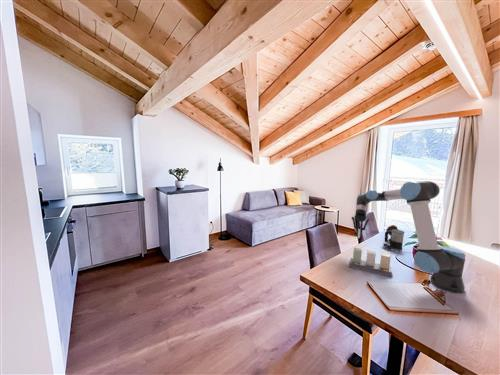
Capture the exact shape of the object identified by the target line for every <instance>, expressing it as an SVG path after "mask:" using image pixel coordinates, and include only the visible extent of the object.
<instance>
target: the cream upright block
mask: <svg viewBox="0 0 500 375" xmlns="http://www.w3.org/2000/svg"><path fill="white" fill-rule="evenodd" d="M376 256H377V254H376V251H373V250H370V249H369V250H366V260H365V261H366V265H370V266H375V263H376Z"/></svg>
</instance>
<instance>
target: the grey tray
mask: <svg viewBox="0 0 500 375" xmlns="http://www.w3.org/2000/svg"><path fill="white" fill-rule="evenodd" d="M349 268H352V269H356V270H361V271H364V272H369V273H373V274H379V275H383V276H386V277H390V278H391V277H392V278H393V275H394V274H393V270H392V267H391V265H390V266H389V270H388V269H383V268H380V263H377V262H375V266H370V265H366V260H364V259H361V263H356V262H353V257H351V258H350V262H349Z"/></svg>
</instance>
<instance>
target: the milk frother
mask: <svg viewBox="0 0 500 375" xmlns="http://www.w3.org/2000/svg"><path fill="white" fill-rule="evenodd" d="M388 233H391V236H390V238H389V234H388ZM404 236H405V231H403V230H402V229H401V230H400V229H398V230H396V229H392V231H390V230H388V231H385V232H384V242H386V243H383V246H384V247H385V248H386V249H387V250H391V251H393V250H394V249H395V250H403V242H404ZM389 239H390V240H389ZM388 241H389V244H388V243H387V242H388Z"/></svg>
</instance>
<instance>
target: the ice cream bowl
mask: <svg viewBox="0 0 500 375" xmlns="http://www.w3.org/2000/svg"><path fill="white" fill-rule="evenodd" d="M392 229H396V230H399V229H398V227H397V225H395V224H393V225H389V226H388V227H387V229H386V231H388V230H390V231H392ZM386 231H385V232H386ZM388 236H390V237H391V233H388ZM388 241H390V238H388Z"/></svg>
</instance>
